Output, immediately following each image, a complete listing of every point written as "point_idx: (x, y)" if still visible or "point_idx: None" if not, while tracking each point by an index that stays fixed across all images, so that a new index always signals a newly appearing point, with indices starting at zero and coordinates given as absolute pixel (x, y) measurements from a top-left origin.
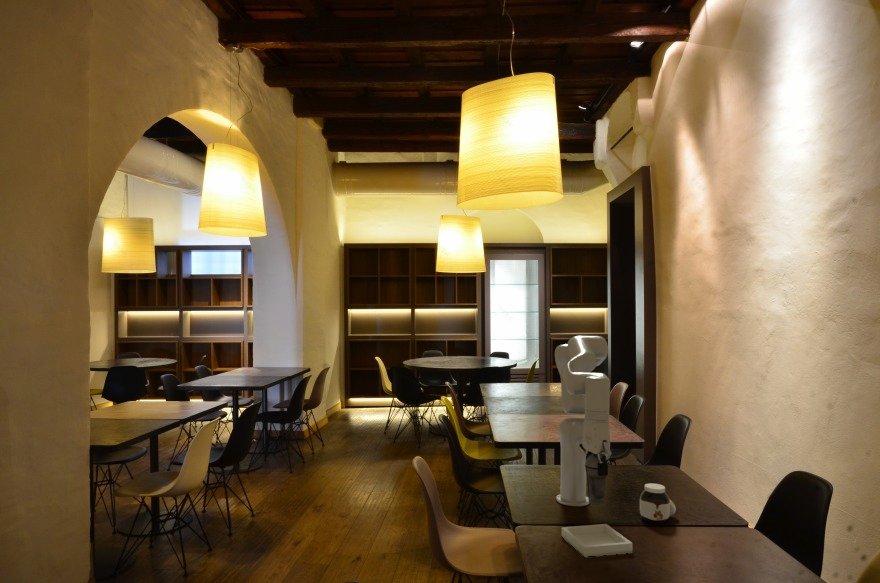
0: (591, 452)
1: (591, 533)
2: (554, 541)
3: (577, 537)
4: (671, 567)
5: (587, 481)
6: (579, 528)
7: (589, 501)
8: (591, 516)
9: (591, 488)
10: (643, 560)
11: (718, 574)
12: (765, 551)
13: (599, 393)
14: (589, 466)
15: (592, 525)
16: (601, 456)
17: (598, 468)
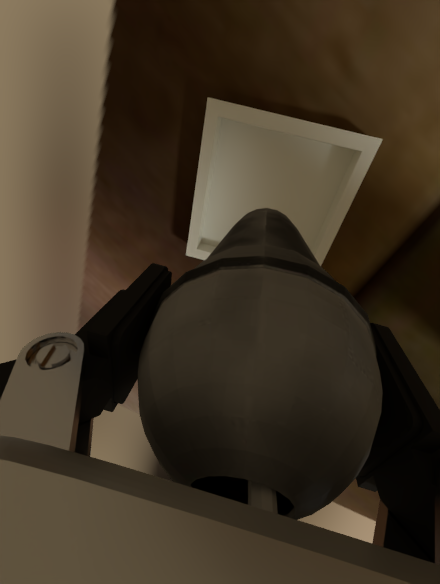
0: (418, 526)
1: (317, 234)
2: (360, 83)
3: (320, 174)
4: (117, 263)
5: (289, 235)
6: (338, 201)
7: (276, 211)
8: (407, 320)
9: (249, 223)
10: (155, 239)
11: (83, 305)
12: (138, 403)
13: None
14: (234, 272)
15: (324, 249)
16: (161, 465)
17: (123, 292)
